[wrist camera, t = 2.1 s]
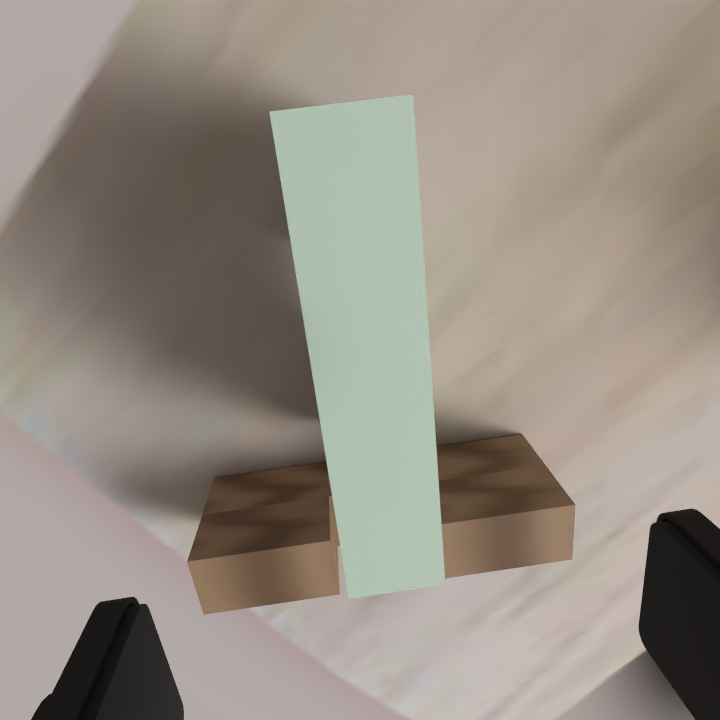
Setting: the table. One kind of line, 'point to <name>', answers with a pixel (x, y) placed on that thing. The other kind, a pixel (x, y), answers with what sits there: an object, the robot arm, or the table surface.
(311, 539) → the walnut slotted plate
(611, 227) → the table surface
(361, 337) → the sage slotted plate
